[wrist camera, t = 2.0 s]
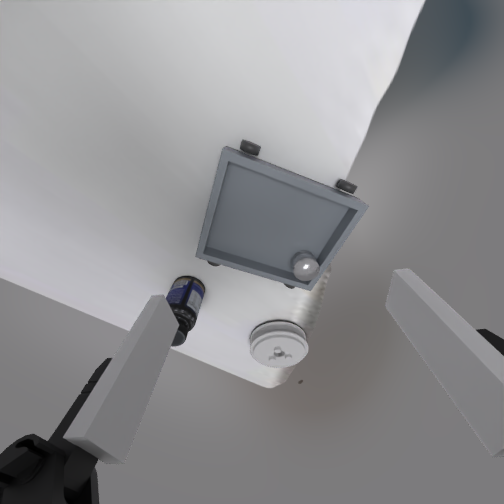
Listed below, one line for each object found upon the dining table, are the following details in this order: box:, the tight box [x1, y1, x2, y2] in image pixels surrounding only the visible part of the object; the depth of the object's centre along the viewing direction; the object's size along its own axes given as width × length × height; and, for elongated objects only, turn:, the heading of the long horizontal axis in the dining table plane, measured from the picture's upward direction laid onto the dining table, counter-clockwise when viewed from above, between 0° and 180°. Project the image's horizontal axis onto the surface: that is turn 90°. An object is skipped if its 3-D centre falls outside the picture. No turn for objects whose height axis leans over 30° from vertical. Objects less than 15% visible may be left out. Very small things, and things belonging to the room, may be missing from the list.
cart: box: [195, 140, 369, 291], centre depth 31 cm, size 20×19×4 cm
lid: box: [250, 321, 308, 368], centre depth 45 cm, size 13×13×5 cm
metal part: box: [291, 250, 320, 281], centre depth 33 cm, size 4×4×3 cm
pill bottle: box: [166, 277, 205, 346], centre depth 35 cm, size 6×6×11 cm
